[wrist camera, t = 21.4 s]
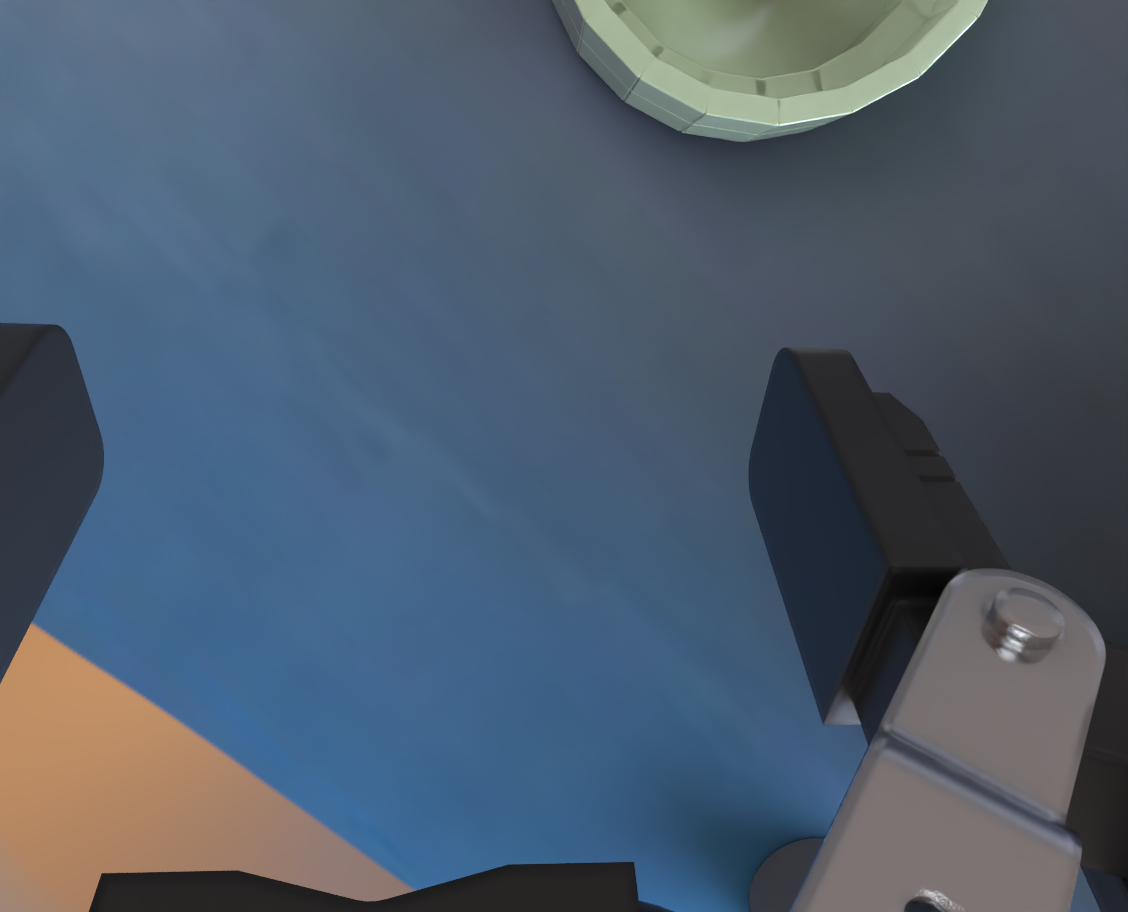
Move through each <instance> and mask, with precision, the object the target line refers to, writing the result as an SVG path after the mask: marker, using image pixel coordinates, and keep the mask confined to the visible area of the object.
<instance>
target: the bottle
mask: <svg viewBox="0 0 1128 912" xmlns="http://www.w3.org/2000/svg"><path fill="white" fill-rule="evenodd" d="M823 840H824V838H810V839H803V840H799V841H796V842H793V843H790V844H787V845H786V846H784V847H782V848H780V849H779V850H777V851H775V852H774V853H772V854H771V855H770V856H769V857H768V858H767V859H766V860H765V861H764V862H763V863H762V865H761V866H760V867H759V868H758V870H757V872H756V874H755V875H754V877H753V880H752V883H751V886H750V891H749V907H750V911H751V912H790V909H791V907H792V905H793V903H794V901H795V899H796V897H797V895H798V893H799V891H800V889H801V886H802V884H803V882H804V880H805V878H806V876H807V874H808V872H809V870H810V868H811V865H812V863H813V861H814V859H815V857H816V855H817V853H818V851H819V849H820V847H821V844H822V842H823Z"/></svg>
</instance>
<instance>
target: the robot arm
mask: <svg viewBox="0 0 1128 912" xmlns="http://www.w3.org/2000/svg"><path fill="white" fill-rule="evenodd" d="M103 466H104V450H103V442H102V437H101V434H100V430H99V427H98V424H97V421H96V418H95V414H94V411H93V408H92V405H91V402H90V398H89V395H88V392H87V389H86V386H85V382H84V379H83V376H82V373H81V370H80V366H79V363H78V360H77V357H76V354H75V350H74V347H73V344H72V342H71V339H70V338H69V336H68V334H67V333H66V331H65V330H64V329H63V328H62V327H60V326H58V325H51V324H17V323H0V683H1V681H2V679H3V677H4V675H5V673H6V671H7V669H8V667H9V665H10V663H11V661H12V659H13V657H14V655H15V653H16V651H17V649H18V647H19V645H20V643H21V642H22V640H23V637H24V636H25V634H26V632H27V630H28V628H29V626H30V624H31V622H32V620H33V618H34V616H35V614H36V612H37V610H38V608H39V606H40V604H41V602H42V600H43V598H44V596H45V594H46V592H47V590H48V588H49V586H50V584H51V582H52V580H53V578H54V576H55V575H56V573H57V571H58V569H59V567H60V565H61V563H62V561H63V559H64V557H65V555H66V553H67V551H68V549H69V547H70V545H71V543H72V541H73V539H74V537H75V535H76V533H77V531H78V529H79V527H80V525H81V523H82V521H83V519H84V517H85V515H86V513H87V511H88V509H89V507H90V506H91V504H92V502H93V500H94V498H95V496H96V494H97V491H98V489H99V486H100V483H101V479H102V475H103ZM749 490H750V497H751V501H752V505H753V508H754V511H755V514H756V517H757V520H758V523H759V526H760V529H761V533H762V536H763V539H764V542H765V545H766V548H767V551H768V554H769V557H770V561H771V564H772V567H773V570H774V573H775V576H776V579H777V582H778V585H779V589H780V592H781V595H782V598H783V601H784V604H785V607H786V610H787V613H788V617H789V620H790V623H791V626H792V629H793V632H794V635H795V638H796V641H797V645H798V648H799V651H800V654H801V657H802V660H803V663H804V666H805V669H806V672H807V676H808V679H809V682H810V685H811V688H812V691H813V694H814V697H815V700H816V704H817V707H818V710H819V713H820V716H821V719H822V722H823V725H861V726H862V729H863V731H864V734H865V737H866V740H867V742H868V745H869V746H868V748H867V750H866V752H865V754H864V756H863V758H862V760H861V762H860V765H859V767H858V769H857V771H856V773H855V775H854V777H853V779H852V781H851V783H850V786H849V788H848V790H847V792H846V794H845V796H844V798H843V800H842V802H841V804H840V807H839V809H838V811H837V813H836V815H835V817H834V819H833V821H832V823H831V826H830V828H829V830H828V832H827V834H826V836H825V838H824V840H823V842H822V844H821V847H820V849H819V851H818V853H817V855H816V857H815V859H814V861H813V863H812V865H811V868H810V870H809V872H808V874H807V876H806V878H805V880H804V882H803V884H802V886H801V889H800V891H799V893H798V895H797V897H796V899H795V901H794V903H793V905H792V907H791V909H790V912H1069V910H1070V906H1071V902H1072V897H1073V893H1074V888H1075V884H1076V880H1077V875H1078V871H1079V866H1081V868H1082V870H1083V873H1084V875H1085V877H1086V879H1087V882H1088V884H1089V886H1090V888H1091V891H1092V893H1093V895H1094V897H1095V900H1096V902H1097V904H1098V906H1099V909H1100V911H1101V912H1128V647H1127V646H1123V645H1119V644H1115V643H1112V642H1108V641H1105V640H1103V639H1102V636H1101V634H1100V632H1099V630H1098V628H1097V627H1096V625H1095V623H1094V622H1093V621H1092V619H1091V618H1090V617H1089V616H1088V615H1087V613H1086V612H1085V611H1084V610H1083V609H1082V608H1081V607H1080V606H1079V605H1078V604H1076V603H1075V602H1074V601H1073V600H1072V599H1070V598H1069V597H1068V596H1066V595H1065V594H1064V593H1062V592H1060V591H1059V590H1057V589H1056V588H1054V587H1052V586H1051V585H1049V584H1046V583H1044V582H1042V581H1040V580H1038V579H1036V578H1033V577H1031V576H1028V575H1025V574H1022V573H1018V572H1014V571H1012V570H1011V568H1010V567H1009V565H1008V563H1007V562H1006V560H1005V558H1004V557H1003V555H1002V553H1001V552H1000V550H999V548H998V547H997V545H996V543H995V542H994V540H993V538H992V537H991V535H990V533H989V532H988V530H987V528H986V527H985V525H984V523H983V521H982V520H981V518H980V516H979V515H978V513H977V511H976V510H975V508H974V506H973V505H972V503H971V501H970V500H969V498H968V496H967V495H966V493H965V491H964V490H963V488H962V486H961V485H960V483H956V482H955V475H954V473H953V471H952V470H951V468H950V466H949V465H948V463H947V461H946V460H945V458H944V457H940V449H939V448H938V446H937V444H936V443H935V441H934V439H933V438H932V436H931V434H930V433H929V431H928V429H927V428H926V426H925V424H924V423H923V421H922V420H921V419H920V418H919V417H918V416H916V415H915V414H914V413H913V412H912V411H910V410H909V409H908V408H907V407H905V406H904V405H903V404H902V403H901V402H899V401H898V400H897V399H896V398H895V397H893V396H892V395H891V394H890V393H878V392H872V391H871V389H870V388H869V386H868V384H867V382H866V380H865V378H864V377H863V375H862V373H861V371H860V369H859V368H858V366H857V364H856V362H855V360H854V358H853V357H852V355H851V354H850V353H849V352H848V351H847V350H844V349H809V348H782V349H781V350H780V351H779V352H778V354H777V355H776V357H775V360H774V363H773V366H772V370H771V374H770V378H769V382H768V385H767V389H766V393H765V397H764V401H763V405H762V409H761V413H760V417H759V421H758V425H757V429H756V433H755V437H754V441H753V444H752V448H751V453H750V460H749ZM89 912H673V911H671V910H668V909H666V908H663V907H661V906H658V905H654V904H650V903H646V902H643V901H639V900H638V892H637V883H636V875H635V867H634V862H612V863H565V864H519V865H505V866H502V867H498V868H495V869H491V870H488V871H484V872H481V873H477V874H474V875H470V876H467V877H463V878H460V879H456V880H453V881H449V882H445V883H442V884H438V885H435V886H431V887H428V888H424V889H421V890H417V891H414V892H410V893H407V894H403V895H400V896H396V897H393V898H389V899H385V900H380V901H370V902H366V901H359V900H354V899H350V898H346V897H342V896H338V895H334V894H330V893H326V892H322V891H318V890H314V889H310V888H306V887H302V886H298V885H293V884H289V883H286V882H282V881H277V880H274V879H270V878H266V877H261V876H258V875H254V874H249V873H245V872H241V871H194V872H148V873H102V874H101V877H100V880H99V883H98V886H97V889H96V893H95V895H94V898H93V901H92V904H91V907H90V910H89Z"/></svg>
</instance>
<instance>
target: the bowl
mask: <svg viewBox="0 0 1128 912" xmlns="http://www.w3.org/2000/svg"><path fill="white" fill-rule="evenodd" d="M987 1H988V0H552V2H553V4H554V6H555V8H556V10H557V12H558V14H559V16H560V18H561V20H562V22H563V25H564V27H565V29H566V31H567V33H568V35H569V37H570V39H571V41H572V43H573V45H574V47H575V49H576V51H577V52H578V53H579V55H580V56H581V57H582V58H583V59H584V60H585V61H586V62H587V63H588V64H589V66H590V67H591V68H592V69H593V70H594V71H595V72H596V73H597V74H598V75H599V76H600V77H601V78H602V79H603V80H604V81H605V83H606V84H607V85H608V86H609V87H610V88H611V89H612V90H613V91H614V92H615V93H616V94H617V95H618V96H619V97H620V98H621V100H624V101H625V103H627V104H629V105H631V106H633V107H634V108H636V109H638V110H640V111H642V112H644V113H646V114H648V115H649V116H651V117H653V118H655V119H657V120H659V121H661V122H662V123H664V124H666V125H668V126H670V127H672V128H674V129H675V130H677V131H681V132H683V133H688V134H694V135H700V136H707V137H713V138H719V139H725V140H732V141H738V142H749V141H755V140H761V139H766V138H772V137H778V136H784V135H789V134H795V133H801V132H806V131H808V130H811V129H814V128H816V127H819V126H821V125H824V124H826V123H829V122H831V121H834V120H836V119H839V118H841V117H844V116H846V115H849V114H851V113H854V112H856V111H857V110H859V109H861V108H863V107H865V106H867V105H869V104H870V103H872V102H874V101H876V100H878V99H880V98H882V97H884V96H885V95H887V94H889V93H891V92H893V91H895V90H897V89H899V88H900V87H902V86H904V85H906V84H908V83H910V82H912V81H913V80H915V79H917V78H919V77H920V76H921V75H922V74H923V73H924V72H925V71H926V70H927V69H928V68H929V67H930V66H931V65H932V64H933V63H934V62H935V61H936V60H937V59H938V58H939V57H940V56H941V55H942V54H943V53H944V52H945V51H946V50H947V49H948V48H949V47H950V46H951V45H952V44H953V43H954V42H955V41H956V40H957V39H958V38H959V37H960V36H961V35H962V34H963V33H964V32H965V31H966V30H967V29H968V28H969V27H970V26H971V25H972V24H973V23H974V22H975V21H976V19H977V18H978V17H979V16H980V14H981V12H982V10H983V9H984V7H985V5H986V3H987Z"/></svg>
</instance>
